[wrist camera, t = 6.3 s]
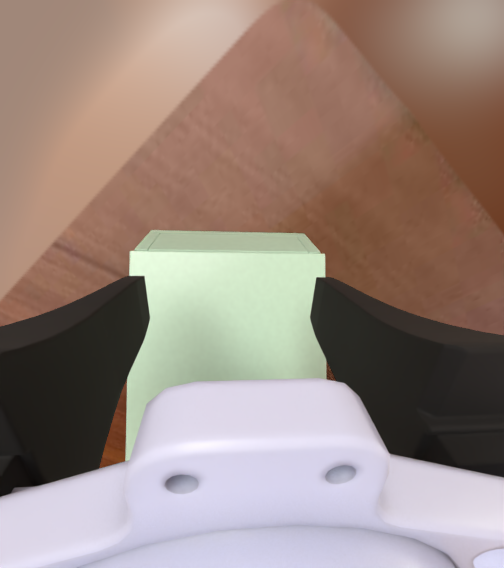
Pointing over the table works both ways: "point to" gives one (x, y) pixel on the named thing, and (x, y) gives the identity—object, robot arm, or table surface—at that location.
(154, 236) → the green lidded box
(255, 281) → the lid
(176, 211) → the table surface
